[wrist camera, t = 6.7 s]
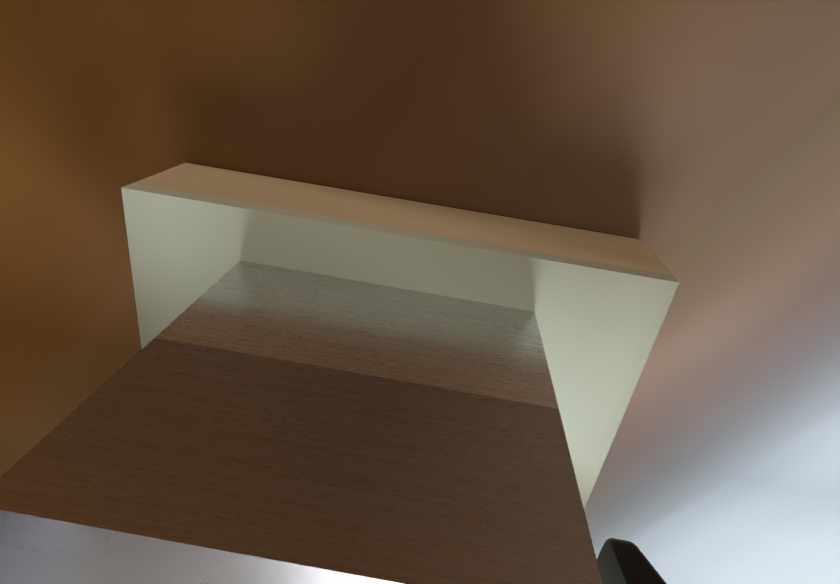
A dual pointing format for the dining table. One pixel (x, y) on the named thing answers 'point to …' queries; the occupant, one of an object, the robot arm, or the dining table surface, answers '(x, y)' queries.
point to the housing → (309, 449)
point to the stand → (414, 273)
